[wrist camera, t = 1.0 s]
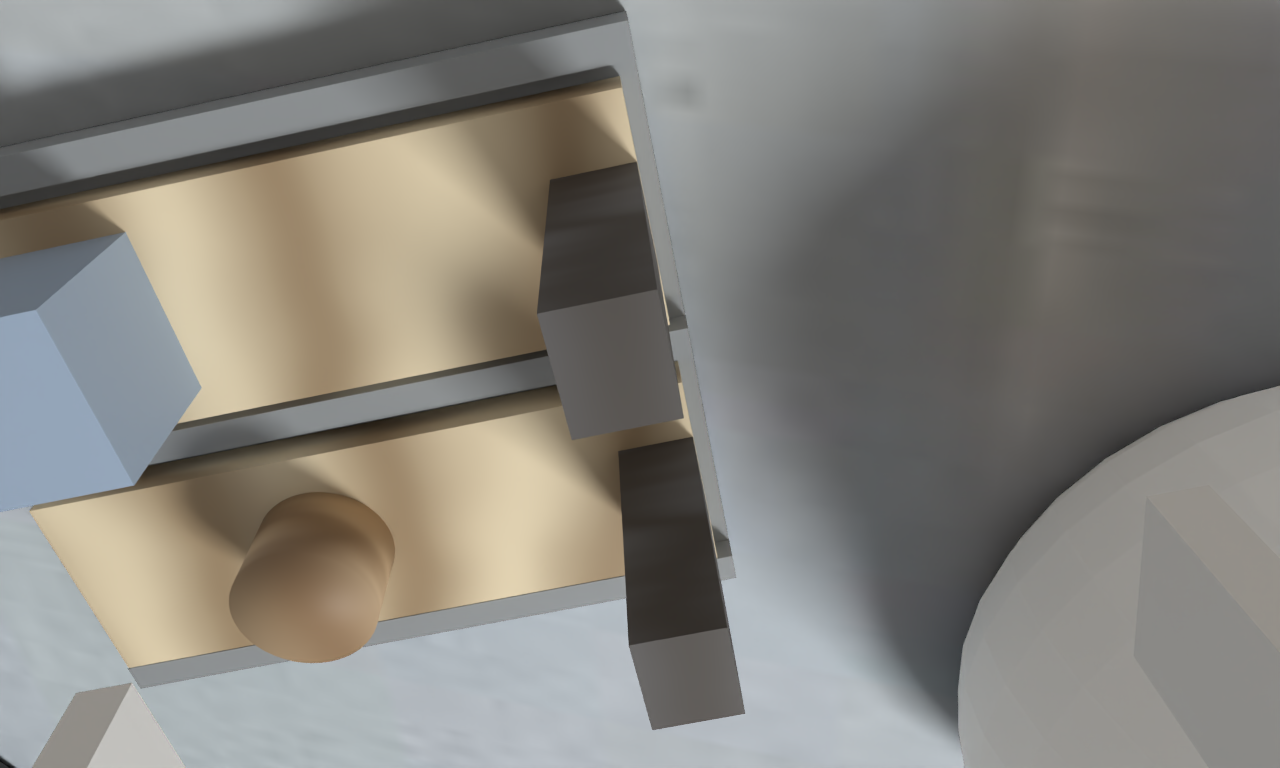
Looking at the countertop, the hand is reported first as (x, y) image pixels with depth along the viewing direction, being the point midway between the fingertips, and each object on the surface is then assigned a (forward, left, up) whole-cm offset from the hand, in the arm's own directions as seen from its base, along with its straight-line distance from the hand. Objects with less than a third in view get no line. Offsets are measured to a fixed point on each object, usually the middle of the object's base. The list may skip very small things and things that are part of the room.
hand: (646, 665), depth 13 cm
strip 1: (-9, 0, -18) cm, 21 cm away
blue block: (-15, 0, -16) cm, 23 cm away
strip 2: (-9, -9, -19) cm, 23 cm away
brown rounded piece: (-11, -9, -16) cm, 22 cm away
